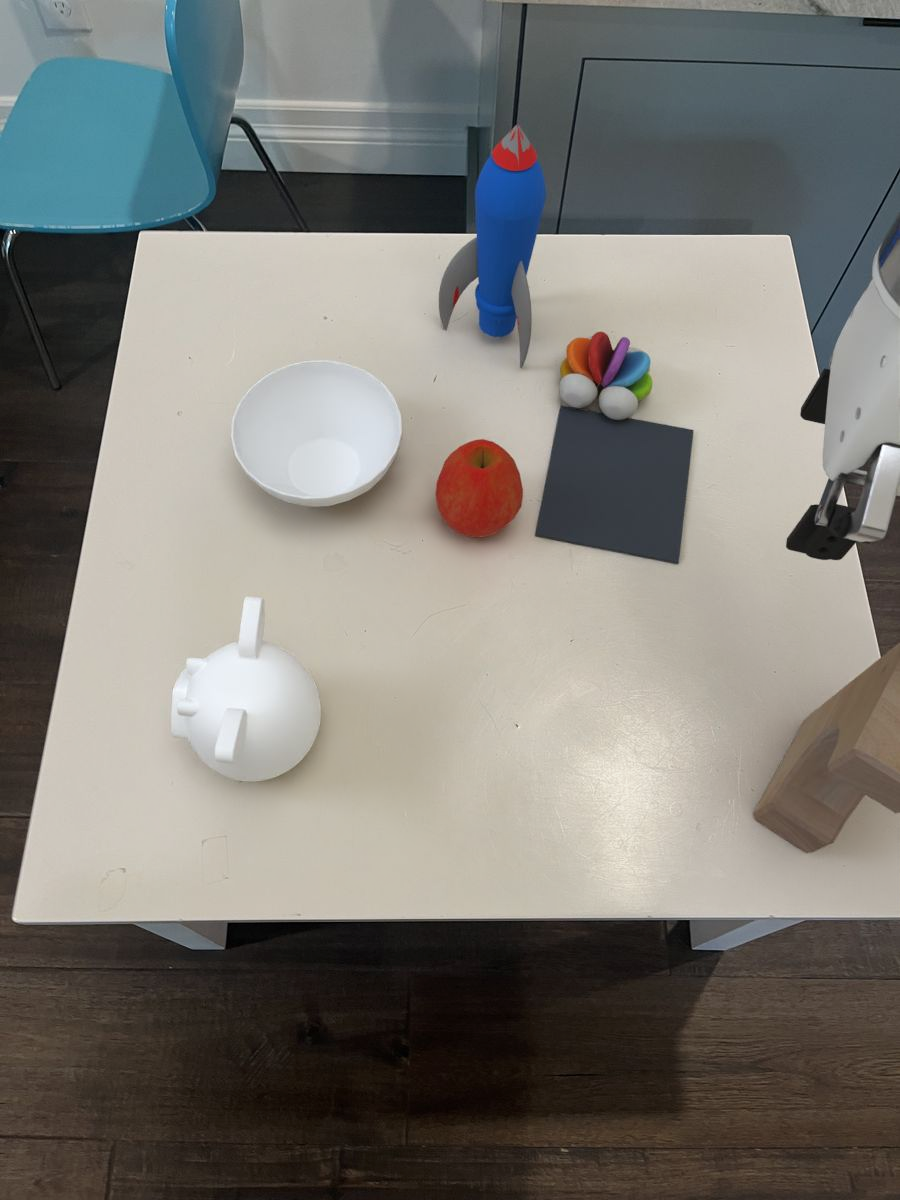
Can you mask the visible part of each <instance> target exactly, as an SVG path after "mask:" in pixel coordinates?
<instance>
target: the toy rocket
mask: <svg viewBox="0 0 900 1200" xmlns="http://www.w3.org/2000/svg"><path fill="white" fill-rule="evenodd" d="M491 152H492V153H491V154H490V155H489V157H488V158H487V159H486V161H485V163H484V165H483V167H482V169H481V171H480V173H479V175H478V178H477V181H476V185H475V190H474V204H475V205H474V207H475V227H476V237H474V238H472V239H471V240H470V241H468V242H467V243H466V244H464V245H463V246H462V247H461V248H460V249H458V251H457V253H456V254H455V255H454V256H453V257H452V258H451V260H450V261H449V263H448V265H447V267H446V268H445V271H444V272H443V276H442V278H441V281H440V285H439V291H438V313H439V319H440V322H441V326H442V329H443V330H444V331H447V330H448V327H449V325H450V324H449V323H450V320H451V316H452V315H453V312H454V309H455V307H456V305H457V303H458V300H459V299H460V298H461V296H462V294H463V293H464V291H465V290H466V289H467V288H468V286H469V285H470V284H471V283H473V282H474V281H475V280H477V279H478V283H477V285H476V287H475V289H474V290H475V291H474V297H475V303H476V304H475V305H476V308H477V310H478V326H479V329H480V330H481V331H482V332H483V334H485V335H487V336H489V337H492V338H504V337H507V336H509V335H510V334H511V333H513V332H514V330H515V328H516V325H517V333H518V341H519V342H518V345H519V346H518V347H519V368H520V369H523V367H524V365H525V362H526V359H527V356H528V353H529V349H530V345H531V344H530V343H531V336H532V301H531V300H532V299H531V293H530V292H531V291H530V289H529V288H530V286H529V281H528V278H527V276H528V272H529V267H530V263H531V259H532V256H533V252H534V247H535V244H536V240H537V236H538V233H539V227H540V224H541V220H542V216H543V212H544V208H545V204H546V200H547V199H546V198H547V189H546V180H545V176H544V171H543V168H542V165H541V163H540V161H539V159H538V153H537V151H536V150H535V148H534V146H533V145H532V143H531V142H530V140H529V139H528V137H527V135H526V133H525V132H524V130H523V129H522V127H521V125H520V124H518V123H517V124H515V126H513V128H512V129H510V131H508V133H507V134H506V135H504V137H503V138H502V139H501V140H500V141H499V142H498V143H497V144H496V145H495V147H494V148H493V149H492V151H491Z"/></svg>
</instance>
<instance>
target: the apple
mask: <svg viewBox="0 0 900 1200" xmlns="http://www.w3.org/2000/svg"><path fill="white" fill-rule="evenodd" d="M435 499H436V505H437V510H438V512H439V514H440V515H441V517H442V518H443V520H444V522H445V523H446V524H447V525H448V527H450V528H451V529H453V530H454V531H455V532H456V533H458V534H459V535H463V536H465V537H466V536H467V537H471V538H483V537H487V536H488V537H489V536H492V535H495V534H496V533H498V532H499V531H501V530H503V529H504V528H506V527H507V526H508V525H509V524H510V523H512V522H513V520H514V519H516V516H517V515H518V513H519V512H520V510H521V508H522V505H523V499H524V488H523V484H522V479H521V473H520V471H519V467H518V466H517V464H516V461H515V459H514V458H513V456H512V455H511V454H510V453H509V452H508V451H507V450H505V449H504V448H503V447H502V446H501V445H499V444H497V443H496V442H494V441H492V440H489V439H484V438H482V439H481V438H480V439H474V440H471V441H468V442H466V443H464V444H462V445H460V446H458V447H457V448H456V449H454V450H453V451H452V452H451V453H449V455H448V457H447V458H446V459H445V460H444V462H443V465H442V466H441V470H440V472H439V475H438V477H437V480H436V486H435Z"/></svg>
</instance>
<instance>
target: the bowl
mask: <svg viewBox="0 0 900 1200" xmlns="http://www.w3.org/2000/svg"><path fill="white" fill-rule="evenodd" d="M402 437H403V425H402V414H401V411H400V408H399V406H398V403H397V400H396V398H395V397H394V395H393V394H392V392H391V391H390V390H389V389H388V387H387V386H386V385H385V383H384V382H382V381H381V379H378V378H377V377H376V376H374V375H373V374H372V373H370V372H369V371H368V370H365V369H362V368H360V367H357V366H356V365H353V364H351V363H347V362H341V361H336V360H330V359H317V360H315V359H313V360H304V361H299V362H295V363H291V364H287V365H284V366H282V367H279V368H278V369H275V370H273V371H271V372H269V373H267V374H266V375H264V376H262V378H260V379H259V380H258V381H256V382H255V383H254V384H253V385H251V386H250V387H249V389H248V390H247V391H246V392H245V394H244V395H243V397H242V398H241V399H240V401H239V402H238V403H237V406H236V408H235V410H234V414H233V416H232V419H231V430H230V441H231V445H232V448H233V452H234V455H235V458H236V460H237V461H238V463H239V465H240V466H241V468H242V469H243V471H244V473H245V474H246V475H247V477H248V478H249V479H250V480H251V481H252V482H253V483H254V484H256V485H257V486H258V487H259V488H261V489H262V490H263V492H266V493H267V494H269V495H270V496H272V497H275V498H277V499H279V500H281V501H284V502H286V503H289V504H295V505H298V506H305V507H312V508H313V507H331V506H335V505H338V504H342V503H345V502H350V501H351V500H353V499H355V498H357V497H358V496H361V495H363V494H364V493H366V492H369V491H370V490H371V489H372V488H373V487H374V486H375V485H376V484H377V483H379V482H380V481H381V480H382V479H383V478H384V476H386V474H387V472H388V470H389V469H390V467H391V465H392V464H393V462H394V461H395V460H396V458H397V455H398V452H399V449H400V445H401V441H402Z"/></svg>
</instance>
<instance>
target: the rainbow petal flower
mask: <svg viewBox="0 0 900 1200" xmlns="http://www.w3.org/2000/svg"><path fill="white" fill-rule="evenodd" d="M630 345H631V340H630V339H629V338H628V337H626V336H623V337H621V338H620V339H619V340H618V342H617V344H616V346H615V348H614V349H613V345H612V342H611V339H610V336H609V335H608V334H607V333H606V332H604V331H597V332H595V333H594V334H592V335H591V336H587V337H584V336H583V337H582V336H581V337H576V338H574V339H572V340H571V341H570V342H569V343H568V345H567V346H566V350H565V351H566V357H565V358H564V359H563V360H562V362H561V364H560V368H559V371H560V372H559V373H560V376H561V380H560V382H559V394H560V397H561V399H562V400H563V402H564V403H565V404H566V405H568V406H569V407H573V408H578V409H583V408H585V407H588V406H590V405H591V404H592V403H593V402H595V400H596V399H597V398H598V405H599V408H600V411H601V413H604V414H605V415H606V416H607V417H609V418H611V419H614V420H622V419H626V418H630V417H631V416H632V415H634V413H635V412H636V410H637V409H638V407H639V401H641V400H643V399H645V398H646V397H647V396H648V395H650V393H651V391H652V389H653V379H652V376H651V374H650V369H651V364H652V363H651V357H650V355H649V354H648V353H646V352H645V351H644V350H642V349H641V348H638V347H635V346H630ZM599 385H601V386H602V387H603V389H602V390H601V391H600V394H599V395H598V387H599Z"/></svg>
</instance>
